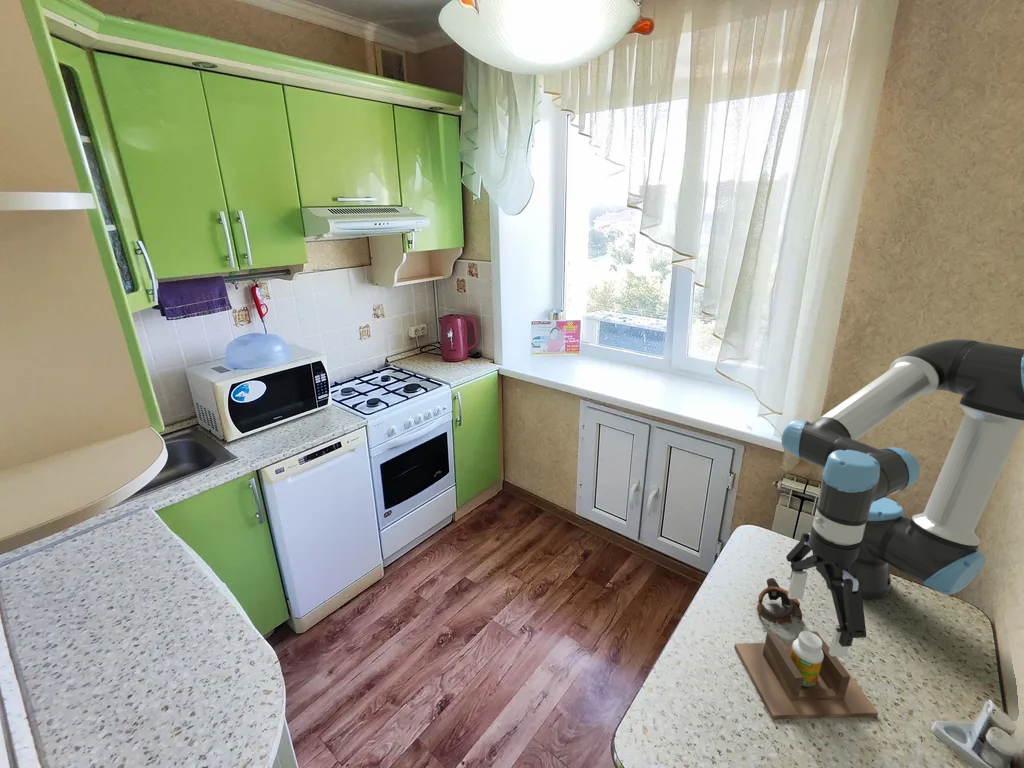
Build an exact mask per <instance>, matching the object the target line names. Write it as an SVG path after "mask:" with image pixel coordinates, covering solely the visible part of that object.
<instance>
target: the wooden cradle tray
mask: <svg viewBox="0 0 1024 768" xmlns="http://www.w3.org/2000/svg"><path fill="white" fill-rule="evenodd" d="M809 632H811V633H814V634H815V635H817V636H818V637H819V638H820V639H821V641H822V651H823V654H824V657H823V661H822V665H821V668H820V672H819V676H818V679H817V682H816V684H815V685H814V686H811V687H807V686H802V681H803V676H802V675H801V673H800V672H799V670H798V669H797V667H796V666H795V664H794V662H793V661H792V659H791V658H790V653H791V648H792V645H793V642H794V641H789V642H787V641H786V642H785V641H784V642H782V641H780V639H779V638H778V635H776V632H773V631H772V632H766V636H765V640H764V642H749V643H745V642H744V643H734V647H733V648H734V649H735V651H736V654H737V655H738V657H739V659H740V660H741V664H742V665H743V666H744V669H745V670H746V672H747V674H748V676H749V678H750V679H751V681H752V684H753V685H754V687H755V690H756V691H757V693H758V695H759V696H760V698H761V699H760V700H761V701H762V702H763V704H764V706H765V709H766V710H767V713H768V714H769V716H770V718H771V719H772V720H789V719H792V720H793V719H822V718H823V719H826V718H828V719H829V718H830V719H831V718H834V719H835V718H866V717H869V718H870V717H878V716H879V711H878V710H877V708H876V707H875V706H874V704H872V702H871V700H870V699H869V698H868V697H867V695H866V694H865V693H864V691H863V690H862V688H861V687H860V686H859V685H858V683H857V682H856V681H855V679H854V678H853V676H852V675H851V674H850V673H849V671H848V670H847V669H846V667H845V666H844V664H843V663H842V662H841V660H840V659H839V657H838V656H831V655H830V654H829V649H830V646H829V644H828V643H827V641H825V640H824V639H823V638H822V636H821V635H820V634H819V632H818V631H815V630H814V631H809Z"/></svg>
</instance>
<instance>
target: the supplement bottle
mask: <svg viewBox="0 0 1024 768" xmlns="http://www.w3.org/2000/svg"><path fill="white" fill-rule="evenodd" d="M792 642H793V645H792V648H791V653H790V658H791V659H792V661H793V662H794V664H795V666H796V667H797V669H798V670H799V672H800V673H801V675H802V676H803V681H802V686H807V687H811V686H814V685H815V684H816V682H817V679H818V676H819V672H820V668H821V665H822V661H823V657H824V654H823V651H822V641H821V639H820V638H819V637H818V636H817V635H815V634H814V633H811V632H810V631H808V630H807V631H805V630H803V631H801V632H799V634H798V637H797V638H796V639H795V640H793V641H792Z"/></svg>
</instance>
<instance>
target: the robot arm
mask: <svg viewBox="0 0 1024 768" xmlns="http://www.w3.org/2000/svg"><path fill="white" fill-rule="evenodd" d="M935 391H947V392H951V393H954V394H958V395H960V396H961V398H960V400H959V403H958V405H959V406H960V408H961V410H962V411H963V413H964V415H963V418H962V421H961V423H960V426H959V428H958V430H957V433H956V435H955V437H954V439H953V442H952V444H951V446H950V449H949V452H948V453H947V457H946V458H945V461H944V463H943V466H942V468H941V470H940V473H939V475H938V478H937V480H936V481H935V482H936V483H935V485H934V486H933V490H932V492H931V494H930V496H929V498H928V502H927V503H926V507H925V508H924V511H923V512H921V513H917V514H913V515H912V516H911V519H910V518H908V517H906V516H904V514H905V512H904V508H903V507H902V506H901V504H899V503H898V502H896V501H894V500H892V499H890V498H887V497H888V496H891V495H894V494H896V493H900V492H902V491H904V490H906V489H907V488H908V487H910V486H911V485H913V484H915V483H916V482H917V481H918V479H919V477H920V474H921V469H920V464H919V462H918V461H917V459H916V458H915V456H914V455H913V454H911V453H910V452H909V451H907V450H906V449H903V448H900V447H883V448H880V449H879V448H876V447H874V446H872V445H869V444H867V443H863V442H861V441H859V439H860V438H862V437H863V436H865V435H866V434H867V433H869V432H870V431H871V430H873V429H875V428H876V427H877V426H878V425H880V424H881V423H883V422H884V421H885V420H887V419H888V418H889V417H891V416H892V415H894V414H895V413H897V412H898V411H899V410H901V409H902V408H904V407H905V406H906V405H907V404H910V403H911V401H913V400H914V399H916V398H918V397H919V396H921V397H923V396H927V395H929V394H932V393H933V392H935ZM1023 428H1024V348H1017V347H1012V346H1006V345H1000V344H995V343H988V342H981V341H977V340H975V339H974V340H973V339H966V338H965V339H964V338H956V339H955V338H954V339H946V340H941V341H935V342H931V343H929V344H928V343H927V344H924V345H921V346H918V347H916V348H913V349H911V350H910V351H906V352H905V353H903V354H902V355H901V356H899V357H897V358H896V359H894V360H893V361H892V363H890V365H889V368H888V370H887V371H886V372H883V374H881V375H880V376H878V377H877V378H876V379H874V380H873V381H871V382H870V383H869V384H867V385H865V386H864V387H863V388H860V389H859V390H858V391H856V393H853V394H852V395H851V396H849V397H848V398H846V399H845V400H844V401H842V402H841V403H839V404H838V405H836V406H835V407H833V408H832V409H831V410H828V412H826V413H825V414H822V416H821V417H819V418H817V419H816V420H815V421H813V422H810V421H808V420H803V419H794V420H792V421H791V422H789V423H788V424H787V425H786V427H785V428H784V430H783V432H782V434H781V445H782V448H783V449H784V450H785V451H786V452H788V453H789V454H791V455H793V456H795V457H796V458H798V459H800V460H803V461H805V462H808V463H810V464H812V465H814V466H817V467H819V468H821V469H822V470H823V471H822V478H821V484H820V489H819V493H818V494H819V495H818V501H817V502H816V511H815V514H814V519H813V522H812V527H811V529H810V532H807V533H806V532H805V533H802V534H801V536H800V537H801V538H800V541H798V542H797V544H795V546H794V547H793V548H792V549H791V550H790V551H789V552H788V553H787V555H786V561H787V562H790V569H791V572H790V573H791V574H790V581H789V582H790V583H789V588H788V590H787V591H788V596H787V597H788V598H789V599H797V600H802V599H803V597H804V594H805V593H804V592H805V588H806V584H807V579H808V574H809V573H808V572H807V570H809V569H811V568H815V570H816V571H817V572H818V573H819V574H820V575H821V576H822V578H823V579H824V580H825V584H826V587H827V589H828V590H830V592H831V596H832V600H833V605H834V608H835V609H834V610H835V613H836V618H837V622H838V624H836V625H835V627H834V629H833V634H832V638H831V641H830V642H831V643H830V644H829V645H830V646H829V647H830V649H829V654H830V655H831V656H837V657H845V656H846V657H847V654H848V651H849V647H852V645H853V640H854V639H861V638H863V639H864V638H865V639H867V627H866V620H865V612H864V609H865V608H864V601H863V599H864V600H880V599H883V598H885V597H887V596H888V595H889V594H890V593H889V592H890V589H891V586H892V581H891V575H890V573H891V572H890V568H889V565H890V566H892V567H893V568H895V569H897V570H899V572H900V571H901V572H902V573H904V574H905V575H908V576H910V577H911V578H913V579H914V580H916V581H917V582H920V583H921V584H922V585H923V586H926V587H929V588H931V589H933V590H934V591H937V592H939V593H940V594H942V595H949V596H950V595H954V594H957V593H959V592H960V591H961V590H963V589H964V588H965V587H967V586H968V585H969V584H970V583H972V582H973V580H974V579H975V578H976V577H977V576H978V574H979V573H980V572H981V570H982V569H983V568H984V565H985V563H986V555H985V554H984V553H983V552H982V551H978V548H979V546H980V543H981V540H980V539H979V537H978V536H977V534H976V533H975V531H976V530H975V529H976V528H977V526H978V524H979V521H980V519H981V516H982V514H983V512H984V510H985V508H986V506H987V504H988V502H989V499H990V498H991V495H992V492H993V491H994V489H995V486H996V484H997V481H998V480H999V478H1000V475H1001V473H1002V472H1003V468H1004V467H1005V465H1006V462H1007V460H1008V458H1009V456H1010V453H1011V452H1012V449H1013V446H1014V445H1015V442H1016V440H1017V438H1018V436H1019V434H1020V432H1021V429H1023ZM810 552H811V553H812V555H811V556H808V557H807V555H808V554H809V553H810Z"/></svg>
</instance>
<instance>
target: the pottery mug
mask: <svg viewBox="0 0 1024 768" xmlns="http://www.w3.org/2000/svg"><path fill="white" fill-rule="evenodd" d="M778 583H779V582H777V580H776V579H775V578H773V577H769V578H767V579H766V585H767V587H766V588H764V589H763V590H762V591H761V592H760V593H759V596H758V602H757V606H756V611H757V614H758V616H760V617H762V618H763V619H764V620H766V621H768V622H770V623H773V624H776V623H777V624H780V625H781V624H790V625H793V623H794V622H793V618H792V616H794V617H795V616H796V617H797V616H798V618H799V620H800V621H803V613H802V609H801V607H800V606H801V603H800V601H799V599H789V598H788V597H787V596H788V591H789V590H785V589H783V588H781V587H780V586H779V585H780V584H778ZM766 595H768V596H767V597H768V599H769V601H777V600H778V599H779V598H780V600H781V605H782V606H787V607H788V609H787V610H786V611H784V612H782V613H777V612H776V613H774V612H773V611H770V610H769V609H767V608H766V607H765V605H764V603H763V599H764V597H765V596H766Z"/></svg>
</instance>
